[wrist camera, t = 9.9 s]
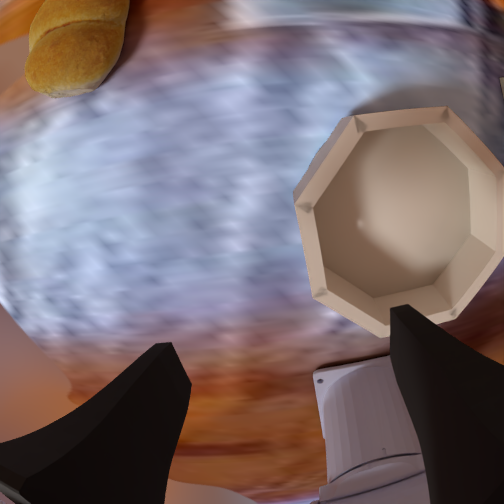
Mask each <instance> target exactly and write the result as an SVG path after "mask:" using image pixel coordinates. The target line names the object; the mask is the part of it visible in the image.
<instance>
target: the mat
mask: <svg viewBox="0 0 504 504" xmlns="http://www.w3.org/2000/svg"><path fill="white" fill-rule="evenodd" d="M500 83H501V88H502V92H503V97H504V77H501V78H500Z"/></svg>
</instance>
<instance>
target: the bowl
mask: <svg viewBox="0 0 504 504" xmlns="http://www.w3.org/2000/svg"><path fill="white" fill-rule="evenodd" d="M293 198H294V205H295V209H296V214H297V219H298V224H299V229H300V234H301V239H302V244H303V249H304V254H305V259H306V264H307V269H308V275H309V280H310V286H311V291H312V298H314V299H315V300H317V301H319V302H320V303H322V304H324V305H325V306H327V307H329V308H331V309H332V310H334V311H336V312H337V313H339V314H341V315H342V316H344V317H346V318H347V319H349V320H351V321H352V322H354V323H356V324H358V325H359V326H361V327H363V328H364V329H366V330H368V331H369V332H371V333H373V334H375V335H376V336H378V337H380V338H383V337H388V336H390V308H392V307H396V306H400V305H405V304H409V305H410V306H412V307H413V308H414V309H416V310H417V311H419V312H420V313H421V314H423V315H424V316H425V317H427V318H428V319H429V320H431V321H432V322H433V323H435V324H439V323H443V322H447V321H450V320H453V319H456V318H457V317H458V315H459V314H460V313H461V312H462V311H463V309H464V308H465V307H466V306H467V305H468V303H469V302H470V301H471V300H472V298H473V297H474V296H475V295H476V293H477V292H478V291H479V290H480V288H481V287H482V286H483V284H484V283H485V282H486V280H487V279H488V278H489V276H490V275H491V274H492V272H493V271H494V269H495V268H496V267H497V265H498V264H499V262H500V261H501V260H502V258H503V257H504V167H503V166H502V164H501V163H500V162H499V161H498V160H497V158H496V157H495V156H494V155H493V154H492V152H491V151H490V150H489V149H488V148H487V147H486V146H485V144H484V143H483V142H482V141H481V140H480V139H479V138H478V137H477V136H476V135H475V134H474V132H473V131H472V130H471V129H470V128H469V127H468V126H467V125H466V124H465V123H464V122H463V121H462V120H461V119H460V118H459V117H458V116H457V115H456V114H455V113H454V112H453V111H452V110H451V109H450V108H449V107H448V106H441V107H426V108H414V109H403V110H394V111H385V112H376V113H369V114H361V115H353V116H349V117H344V118H341V120H340V121H339V123H338V124H337V126H336V127H335V129H334V131H333V132H332V134H331V135H330V137H329V138H328V140H327V141H326V142H325V143H324V144H323V145H322V147H321V148H320V149H319V151H318V152H317V153H316V155H315V156H314V158H313V160H312V162H311V163H310V165H309V168H308V170H307V171H306V173H305V174H304V176H303V177H302V179H301V180H300V182H299V183H298V185H297V186H296V188H295V189H294V191H293Z"/></svg>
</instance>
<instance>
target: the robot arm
mask: <svg viewBox="0 0 504 504" xmlns="http://www.w3.org/2000/svg"><path fill="white" fill-rule="evenodd" d="M313 379H314V385H315V391H316V396H317V402H318V408H319V414H320V420H321V426H322V432H323V438H324V439H325V441H326V458H327V478H328V484H327V485H325V486H321V487H319V500H316V501H313V502H311V503H310V504H504V365H502V364H500V363H498V362H496V361H494V360H492V359H490V358H488V357H486V356H484V355H482V354H480V353H479V352H477V351H475V350H473V349H472V348H470V347H469V346H467V345H465V344H464V343H462V342H461V341H459V340H458V339H456V338H455V337H453V336H452V335H450V334H449V333H447V332H446V331H444V330H443V329H442V328H440V327H439V326H437V325H436V324H435V323H433V322H432V321H431V320H429V319H428V318H427V317H425V316H424V315H423V314H421V313H420V312H419V311H417V310H416V309H414V308H413V307H412V306H410V305H409V304H405V305H400V306H396V307H392V308H390V355H389V356H385V357H380V358H376V359H371V360H366V361H362V362H357V363H351V364H346V365H341V366H335V367H330V368H324V369H318V370H316V371H314V373H313ZM319 379H322V380H319ZM191 386H192V384H191V382H190V380H189V378H188V376H187V374H186V372H185V370H184V368H183V366H182V364H181V362H180V359H179V357H178V355H177V353H176V351H175V349H174V347H173V345H172V343H171V342H167V343H156V344H155V345H153V346H152V347H151V348H149V349H148V350H147V351H146V352H145V353H143V354H142V355H141V356H140V357H139V358H138V359H137V360H135V361H134V362H133V363H132V364H131V365H130V366H129V367H128V368H126V369H125V370H124V371H123V372H122V373H121V374H120V375H119V376H117V377H116V378H115V379H114V380H113V381H112V382H110V383H109V384H108V385H107V386H106V387H104V388H103V389H102V390H101V391H99V392H98V393H97V394H96V395H94V396H93V397H92V398H91V399H89V400H88V401H87V402H85V403H84V404H82V405H81V406H79V407H78V408H76V409H75V410H74V411H72V412H70V413H69V414H67V415H65V416H64V417H62V418H60V419H58V420H56V421H55V422H53V423H51V424H49V425H47V426H45V427H43V428H41V429H39V430H37V431H34V432H32V433H30V434H27V435H25V436H22V437H19V438H16V439H13V440H10V441H6V442H3V443H0V492H2V493H3V494H4V495H5V496H6V497H8V498H9V499H10V500H12V501H13V502H14V503H15V504H164V501H165V492H166V487H167V480H168V475H169V470H170V466H171V462H172V458H173V455H174V452H175V449H176V446H177V442H178V439H179V436H180V433H181V430H182V427H183V423H184V420H185V417H186V414H187V410H188V405H189V400H190V393H191ZM0 504H5V503H4V502H3V501H1V500H0Z"/></svg>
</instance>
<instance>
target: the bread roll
mask: <svg viewBox="0 0 504 504" xmlns="http://www.w3.org/2000/svg"><path fill="white" fill-rule="evenodd" d="M129 3H130V0H45V2H44V3H43V5H42V6H41V8H40V9H39V11H38V13H37V15H36V16H35V18H34V20H33V22H32V24H31V26H30V32H29V48H30V54H29V56H28V58H27V60H26V64H25V77H26V79H27V82H28V83H29V85H30V86H31V88H32V89H33V90H34V91H38V92H40V93H41V94H44V95H47V96H49V97H51V98H61V97H71V96H75V95H80V94H83V93H86V92H92V91H94V90H95V89H97V88H98V87H99V85H100V84H101V83H102V82H103V80H104V79H105V78H106V76H107V75H108V74H109V72H110V71H111V69H112V68H113V67H114V65H115V64H116V62H117V60H118V59H119V56H120V53H121V49H122V45H123V42H124V32H125V24H126V19H127V15H128V10H129Z"/></svg>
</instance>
